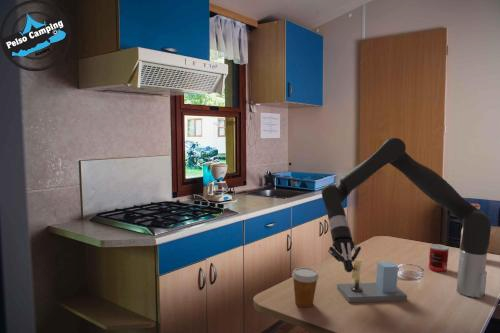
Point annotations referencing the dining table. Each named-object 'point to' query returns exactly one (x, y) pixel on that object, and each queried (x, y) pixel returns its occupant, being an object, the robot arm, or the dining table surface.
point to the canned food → (438, 258)
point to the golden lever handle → (356, 273)
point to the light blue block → (386, 276)
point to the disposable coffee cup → (304, 286)
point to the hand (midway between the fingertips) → (349, 271)
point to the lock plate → (369, 293)
